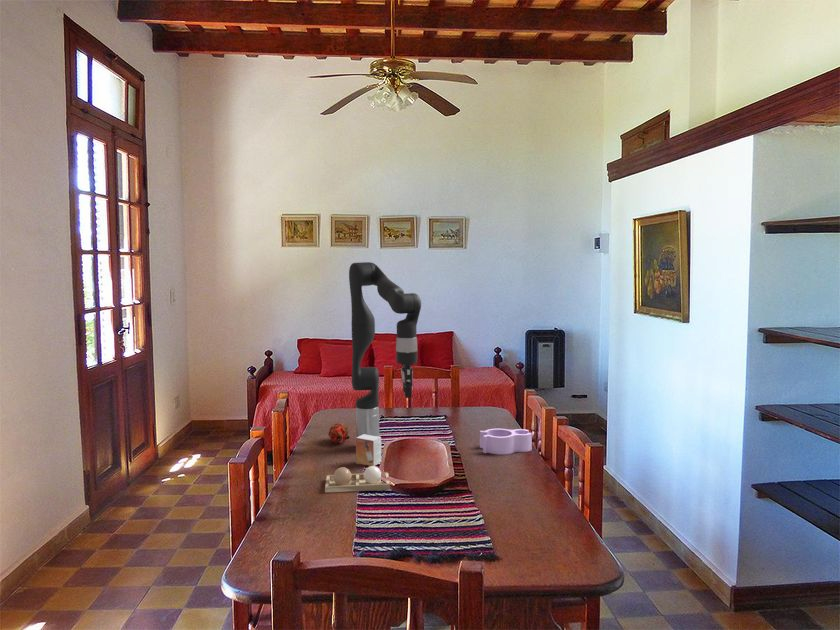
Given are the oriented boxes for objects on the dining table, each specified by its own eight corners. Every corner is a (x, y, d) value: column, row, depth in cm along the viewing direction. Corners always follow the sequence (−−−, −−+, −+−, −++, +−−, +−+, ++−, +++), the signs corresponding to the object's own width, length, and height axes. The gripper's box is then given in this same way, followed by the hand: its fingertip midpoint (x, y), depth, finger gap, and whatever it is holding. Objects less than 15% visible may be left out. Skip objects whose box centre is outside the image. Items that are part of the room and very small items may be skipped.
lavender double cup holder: (525, 443, 235) (525, 427, 234) (534, 453, 222) (534, 436, 222) (478, 445, 233) (478, 429, 232) (484, 455, 220) (484, 438, 220)
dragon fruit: (340, 440, 245) (341, 453, 233) (324, 431, 242) (324, 443, 231) (351, 425, 244) (353, 437, 232) (335, 415, 242) (336, 427, 230)
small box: (355, 465, 211) (355, 437, 210) (363, 460, 216) (363, 433, 215) (373, 468, 207) (373, 440, 206) (381, 463, 212) (381, 436, 211)
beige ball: (334, 482, 192) (333, 465, 192) (351, 481, 193) (351, 464, 192) (333, 489, 186) (332, 471, 186) (351, 488, 187) (351, 470, 186)
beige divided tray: (327, 482, 194) (327, 475, 194) (388, 479, 197) (388, 472, 196) (325, 494, 183) (325, 487, 183) (389, 491, 186) (389, 484, 185)
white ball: (363, 480, 193) (363, 463, 192) (381, 479, 194) (381, 462, 193) (363, 487, 187) (363, 470, 187) (381, 486, 188) (381, 469, 187)
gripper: (394, 347, 206) (395, 390, 208) (397, 353, 192) (398, 399, 194) (415, 346, 207) (415, 390, 209) (419, 352, 193) (419, 399, 195)
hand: (407, 394), depth 201 cm, fingers open, 8 cm apart
